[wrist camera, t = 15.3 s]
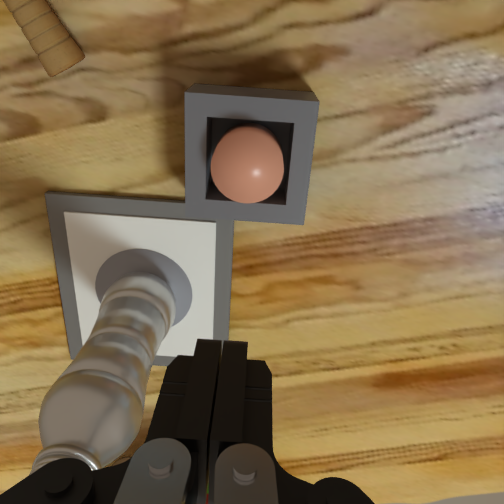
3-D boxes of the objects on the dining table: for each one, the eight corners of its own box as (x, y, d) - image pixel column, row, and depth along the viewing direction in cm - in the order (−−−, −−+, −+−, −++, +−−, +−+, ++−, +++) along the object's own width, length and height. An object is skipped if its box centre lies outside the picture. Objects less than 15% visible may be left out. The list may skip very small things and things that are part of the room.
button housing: (194, 83, 34) (184, 92, 30) (313, 91, 34) (319, 101, 30) (194, 195, 38) (185, 216, 34) (300, 203, 38) (303, 225, 34)
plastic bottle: (102, 308, 43) (-16, 515, 25) (123, 251, 40) (6, 439, 22) (166, 332, 44) (97, 547, 26) (191, 278, 41) (132, 478, 23)
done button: (216, 120, 32) (211, 129, 29) (285, 125, 32) (287, 134, 29) (214, 186, 34) (209, 200, 32) (279, 191, 34) (280, 205, 32)
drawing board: (47, 191, 38) (43, 194, 37) (234, 204, 38) (234, 208, 37) (73, 355, 47) (69, 361, 46) (227, 366, 47) (226, 372, 46)
